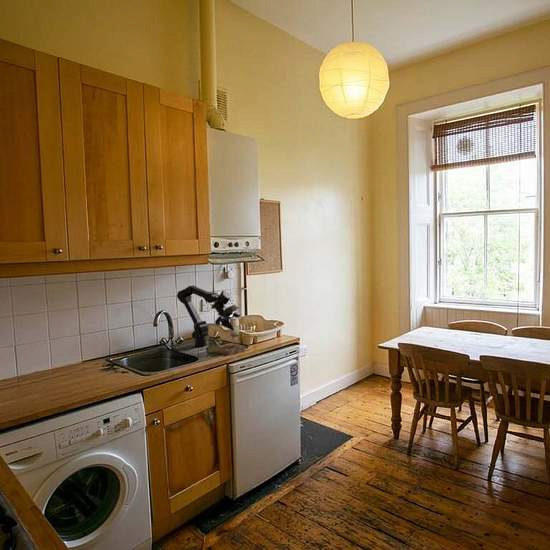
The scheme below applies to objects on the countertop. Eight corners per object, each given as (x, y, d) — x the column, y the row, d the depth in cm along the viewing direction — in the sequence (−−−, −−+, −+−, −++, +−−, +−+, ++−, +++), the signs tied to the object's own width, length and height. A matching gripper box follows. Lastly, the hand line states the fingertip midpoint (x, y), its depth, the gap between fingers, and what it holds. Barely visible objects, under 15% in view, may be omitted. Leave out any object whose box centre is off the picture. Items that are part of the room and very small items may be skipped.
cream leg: (228, 339, 240) (227, 318, 239) (235, 338, 244) (234, 317, 243) (234, 341, 236) (233, 319, 235) (241, 339, 240) (240, 318, 239)
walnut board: (228, 355, 230) (228, 350, 230) (214, 352, 239) (214, 347, 239) (245, 350, 240) (245, 346, 239) (231, 347, 248) (231, 342, 248)
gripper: (218, 302, 233) (233, 323, 227) (238, 298, 248) (252, 317, 243) (208, 315, 237) (223, 335, 232) (228, 310, 253) (243, 329, 248)
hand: (236, 329), depth 239 cm, fingers closed on cream leg, 5 cm apart
